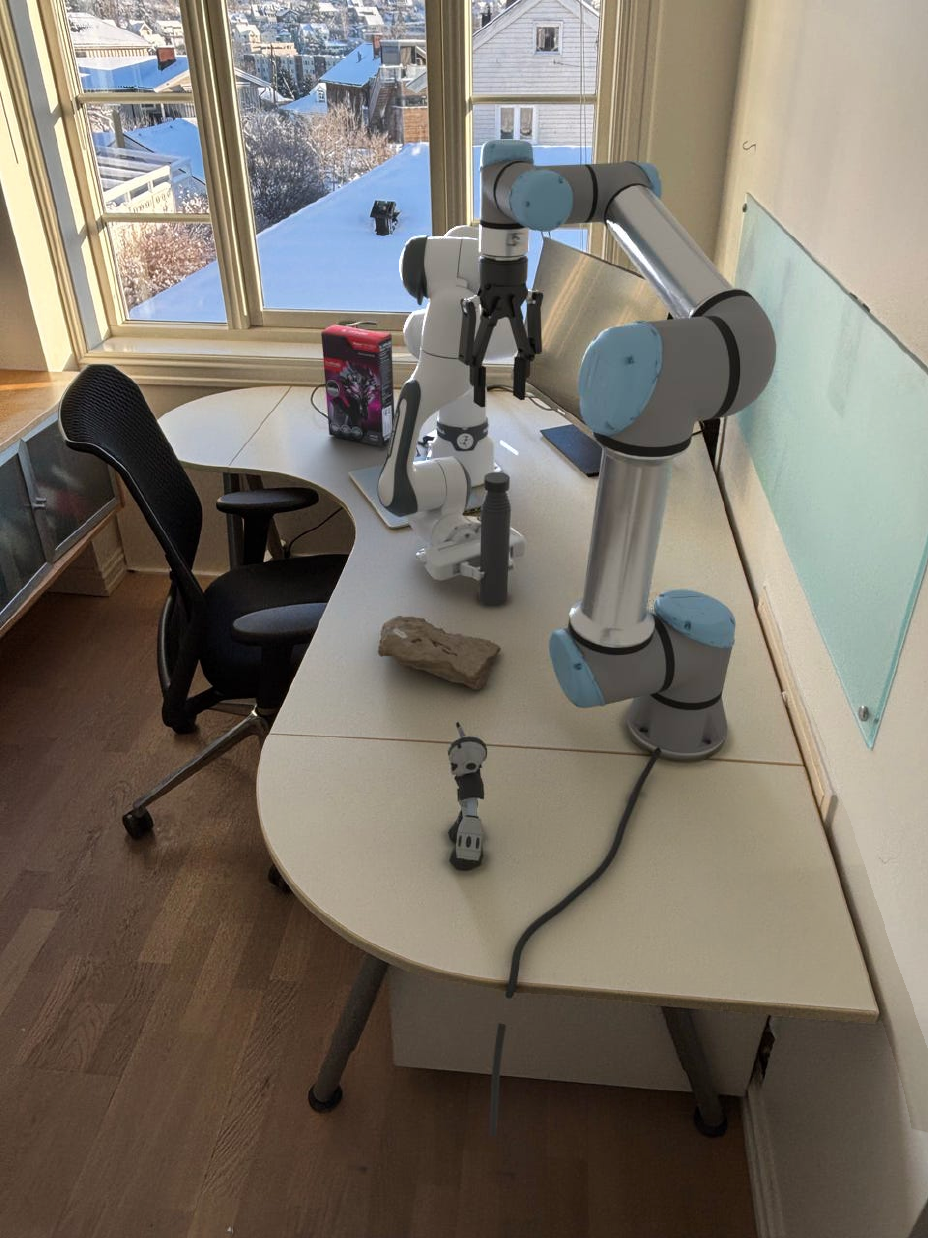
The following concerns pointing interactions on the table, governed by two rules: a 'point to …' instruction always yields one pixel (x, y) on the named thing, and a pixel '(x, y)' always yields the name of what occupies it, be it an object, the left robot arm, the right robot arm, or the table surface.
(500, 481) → the cap
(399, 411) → the left robot arm
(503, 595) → the bottle
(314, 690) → the table surface
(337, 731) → the table surface
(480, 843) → the robot
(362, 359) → the graphics card box
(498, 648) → the stone
